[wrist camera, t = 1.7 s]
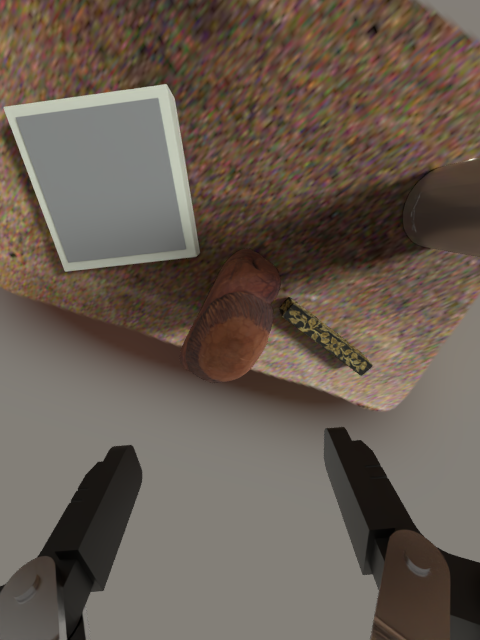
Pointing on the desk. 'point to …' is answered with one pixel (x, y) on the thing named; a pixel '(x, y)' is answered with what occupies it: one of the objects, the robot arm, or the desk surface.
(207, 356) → the wooden figurine
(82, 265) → the plinth
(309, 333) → the decorative block
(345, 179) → the desk surface
